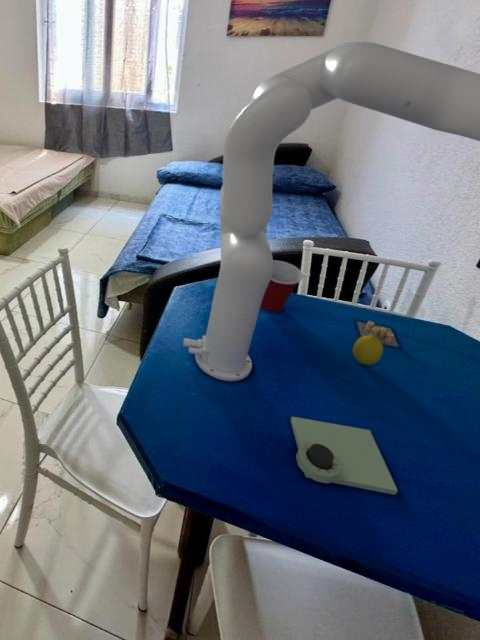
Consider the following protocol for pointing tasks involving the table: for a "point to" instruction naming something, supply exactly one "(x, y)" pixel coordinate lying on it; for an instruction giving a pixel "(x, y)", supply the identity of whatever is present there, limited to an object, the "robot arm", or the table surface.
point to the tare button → (320, 456)
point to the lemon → (368, 350)
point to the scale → (343, 455)
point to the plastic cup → (280, 285)
